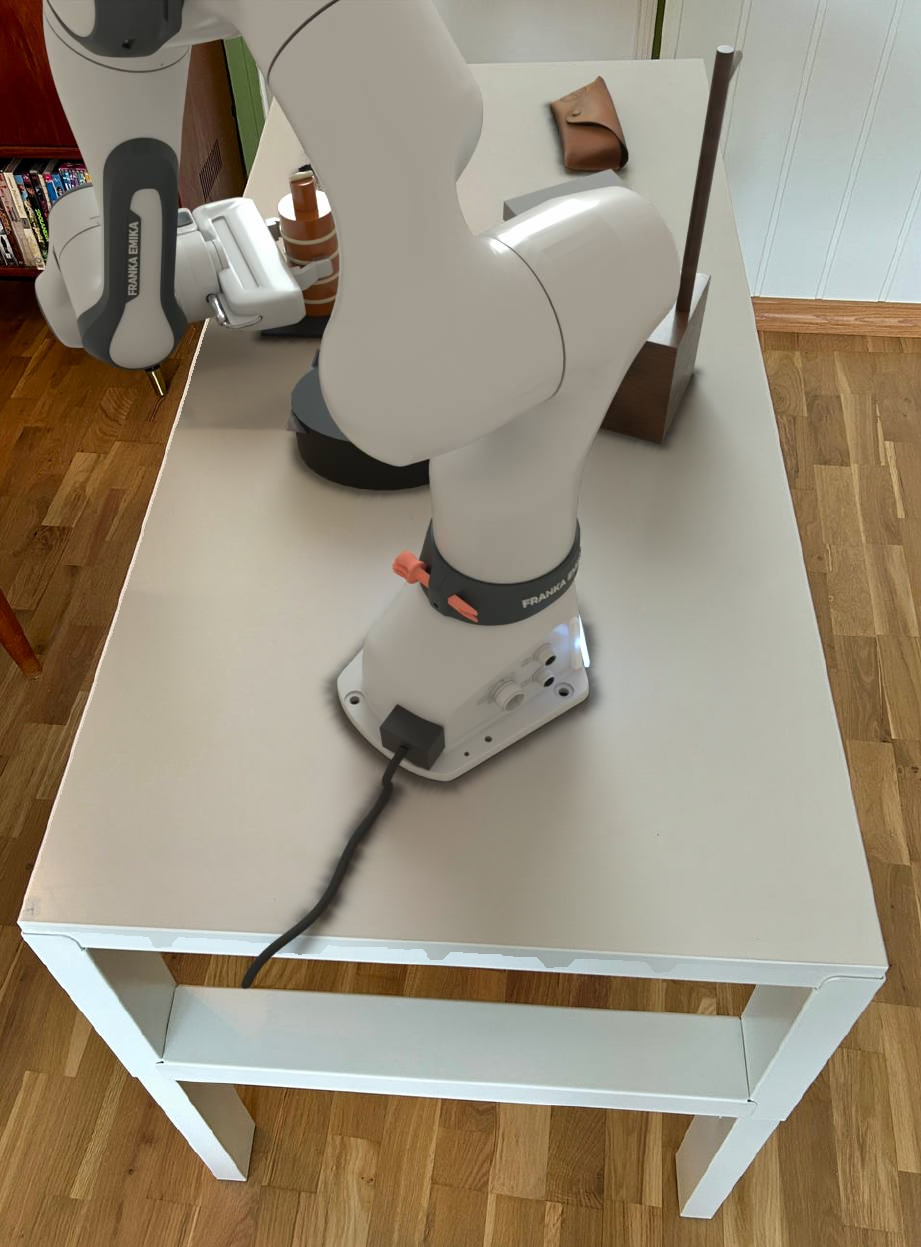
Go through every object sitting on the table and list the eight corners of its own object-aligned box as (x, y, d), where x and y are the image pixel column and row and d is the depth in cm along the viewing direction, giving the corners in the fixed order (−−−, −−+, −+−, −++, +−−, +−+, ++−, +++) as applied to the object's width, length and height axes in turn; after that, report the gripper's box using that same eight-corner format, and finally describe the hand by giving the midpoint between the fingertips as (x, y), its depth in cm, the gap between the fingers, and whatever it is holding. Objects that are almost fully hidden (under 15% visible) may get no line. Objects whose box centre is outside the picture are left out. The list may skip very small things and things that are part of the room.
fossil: (298, 172, 141) (296, 166, 140) (311, 167, 141) (309, 161, 140) (311, 203, 136) (309, 197, 136) (325, 198, 136) (323, 192, 136)
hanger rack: (549, 415, 111) (568, 61, 83) (587, 345, 118) (616, -4, 89) (661, 444, 108) (721, 87, 80) (693, 371, 115) (759, 18, 86)
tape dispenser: (460, 506, 105) (464, 449, 99) (281, 482, 106) (274, 424, 100) (479, 410, 114) (484, 353, 108) (314, 388, 115) (309, 331, 109)
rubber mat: (367, 338, 120) (366, 334, 119) (261, 337, 120) (260, 333, 120) (377, 274, 127) (377, 269, 126) (277, 273, 127) (276, 268, 127)
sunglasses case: (544, 101, 149) (571, 57, 145) (585, 123, 152) (613, 80, 148) (564, 170, 138) (593, 125, 134) (608, 192, 141) (638, 149, 137)
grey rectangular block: (541, 272, 126) (648, 237, 130) (543, 245, 123) (653, 210, 127) (502, 228, 131) (607, 195, 135) (503, 201, 128) (610, 168, 132)
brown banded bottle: (302, 323, 121) (280, 195, 108) (286, 292, 124) (262, 165, 112) (355, 309, 122) (339, 181, 110) (337, 278, 125) (320, 151, 113)
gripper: (214, 306, 106) (346, 271, 109) (168, 202, 118) (288, 172, 121) (227, 357, 111) (353, 322, 114) (181, 252, 123) (296, 222, 126)
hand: (319, 244), depth 118 cm, fingers closed on brown banded bottle, 6 cm apart
